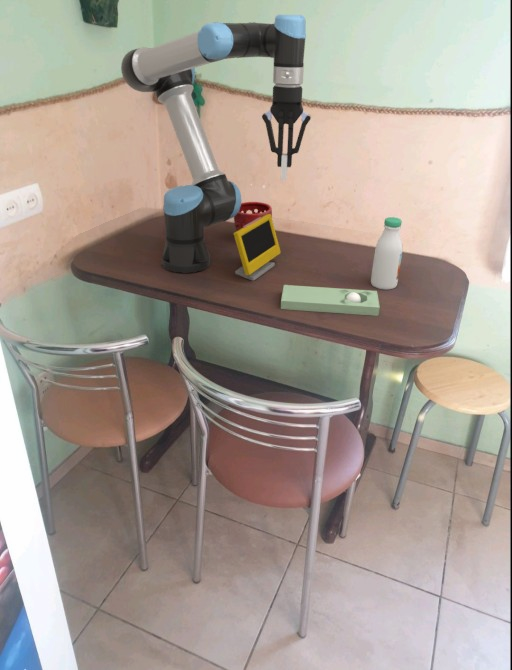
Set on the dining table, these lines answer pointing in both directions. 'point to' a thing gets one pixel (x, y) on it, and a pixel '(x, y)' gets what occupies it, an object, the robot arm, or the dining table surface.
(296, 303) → the putting strip
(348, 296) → the ball
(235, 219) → the plant pot
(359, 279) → the dining table surface
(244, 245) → the yellow framed monitor
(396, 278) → the milk bottle
